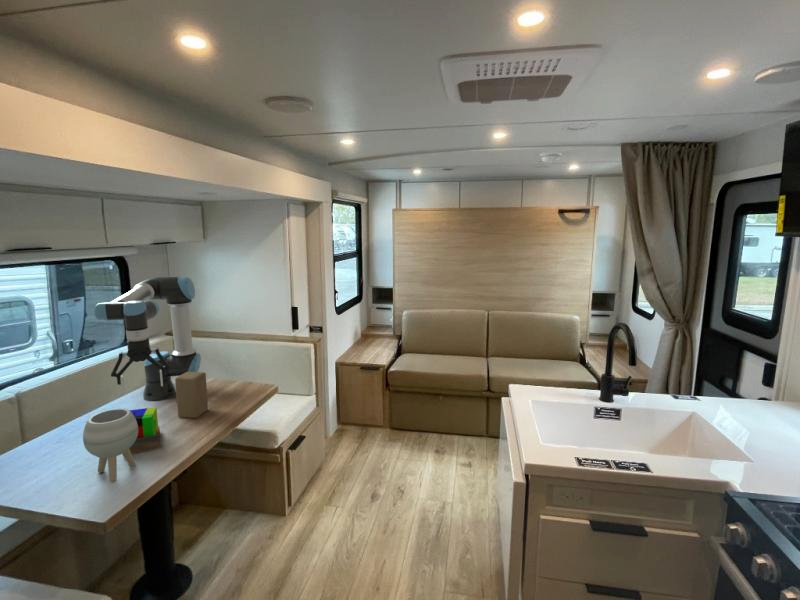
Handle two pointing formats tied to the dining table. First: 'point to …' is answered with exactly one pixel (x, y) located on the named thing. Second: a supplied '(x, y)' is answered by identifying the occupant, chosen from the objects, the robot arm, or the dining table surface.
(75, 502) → the dining table surface
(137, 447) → the dock
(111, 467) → the planter
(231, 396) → the dining table surface
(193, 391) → the wooden block
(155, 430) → the puzzle toy
